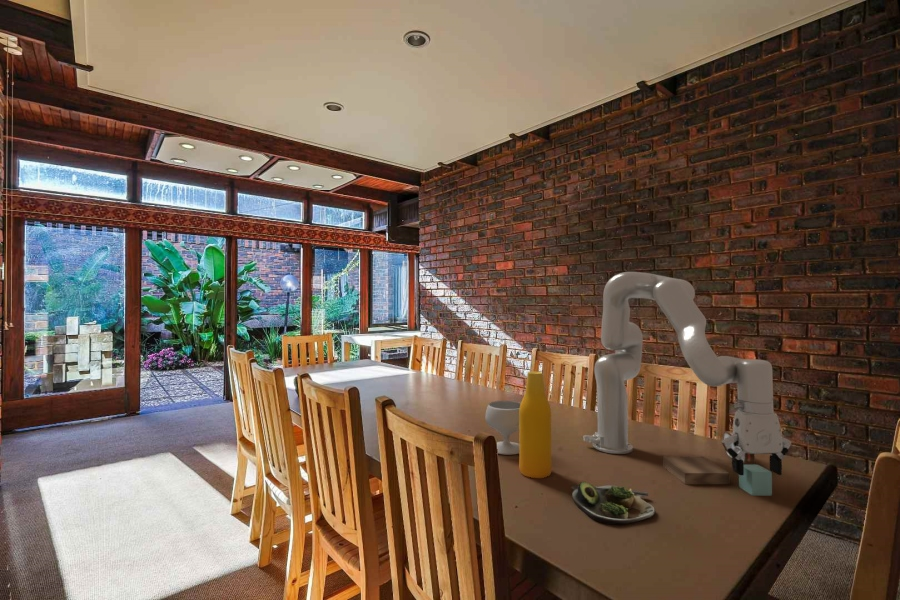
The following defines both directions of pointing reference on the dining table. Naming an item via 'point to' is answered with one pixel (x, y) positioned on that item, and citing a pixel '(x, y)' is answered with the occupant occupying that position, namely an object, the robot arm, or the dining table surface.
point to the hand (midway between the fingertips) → (757, 473)
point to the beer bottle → (535, 429)
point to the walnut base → (696, 470)
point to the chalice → (504, 423)
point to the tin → (747, 458)
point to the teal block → (756, 480)
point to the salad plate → (611, 503)
